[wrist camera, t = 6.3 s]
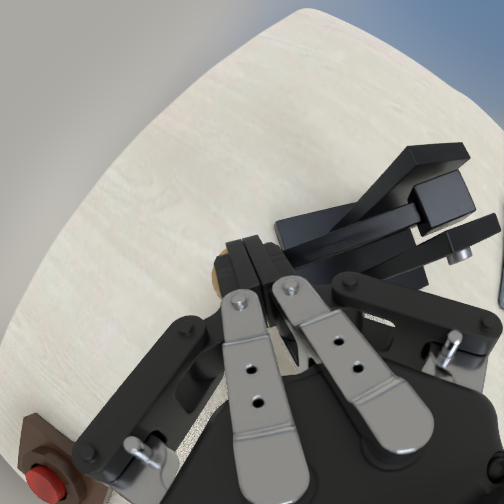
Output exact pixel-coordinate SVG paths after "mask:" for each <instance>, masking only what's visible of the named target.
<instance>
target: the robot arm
mask: <svg viewBox="0 0 504 504" xmlns="http://www.w3.org/2000/svg"><path fill="white" fill-rule="evenodd" d="M225 244H226V248H227V252H228V254H224V255H220V256H217V257H216V260H215V262H214V267H215V271H216V276H217V280H218V285H219V289H220V293H221V298H222V301H221V306H220V308H219V309H218V311H217V312H216V313H214V314H213V315H212V316H210V317H208V318H206V319H204V320H203V319H201V318H200V317H198V316H192V315H190V316H184V317H181V318H179V319H177V320H175V321H174V322H173V323H172V324H171V325H170V326H169V328H168V329H167V330H166V331H165V332H164V334H163V335H162V336H161V337H160V338H159V340H158V341H157V342H156V343H155V344H154V346H153V347H152V348H151V349H150V351H149V352H148V353H147V354H146V355H145V357H144V358H143V359H142V360H141V361H140V363H139V364H138V365H137V366H136V368H135V369H134V370H133V371H132V372H131V374H130V375H129V376H128V377H127V379H126V380H125V381H124V382H123V384H122V385H121V386H120V387H119V388H118V390H117V391H116V392H115V393H114V395H113V396H112V397H111V398H110V400H109V401H108V402H107V403H106V405H105V406H104V407H103V408H102V410H101V411H100V412H99V413H98V415H97V416H96V417H95V418H94V420H93V421H92V422H91V423H90V425H89V426H88V427H87V428H86V430H85V431H84V432H83V433H82V435H81V436H80V437H79V438H78V440H77V441H76V442H75V444H74V446H73V449H72V461H73V464H74V466H75V467H76V468H77V469H78V470H79V471H80V472H82V473H84V474H86V475H88V476H89V477H91V478H93V479H94V480H96V481H97V482H99V483H101V484H104V485H106V486H108V487H110V488H112V489H113V490H114V491H116V492H117V493H118V494H120V495H121V496H122V497H123V498H125V499H126V500H127V501H129V502H130V503H132V504H504V449H503V446H502V443H501V439H500V435H499V429H498V420H497V414H496V411H495V409H494V406H493V405H492V403H491V401H490V400H489V399H488V398H487V397H486V396H485V395H483V394H482V392H483V387H484V381H485V375H486V369H487V362H488V356H489V354H490V352H491V351H492V349H493V347H494V346H495V344H496V342H497V341H498V339H499V337H500V335H501V333H502V330H503V326H502V323H501V321H500V319H499V318H498V317H497V316H496V315H495V314H494V313H492V312H490V311H487V310H484V309H481V308H477V307H474V306H471V305H467V304H464V303H460V302H457V301H454V300H450V299H447V298H443V297H440V296H437V295H433V294H430V293H426V292H423V291H419V290H416V289H413V288H409V287H406V286H402V285H399V284H395V283H392V282H388V281H385V280H381V279H378V278H374V277H371V276H367V275H364V274H360V273H357V272H342V273H339V274H338V275H336V276H335V277H334V278H333V279H332V284H330V285H311V284H310V283H309V282H308V281H307V280H306V279H305V278H303V277H300V276H298V275H297V274H296V272H295V271H294V269H293V267H292V266H291V264H290V263H289V261H288V260H287V259H286V256H285V255H284V254H283V252H282V250H281V249H280V247H279V246H278V245H276V244H274V243H272V242H270V243H266V244H262V242H261V240H260V238H259V236H258V235H254V236H250V237H246V238H242V240H241V239H239V240H235V241H231V242H227V243H225ZM365 313H367V314H370V315H373V316H376V317H379V318H382V319H385V320H388V321H391V322H392V323H393V324H394V325H395V327H391V326H388V325H385V324H382V323H379V322H376V321H373V320H370V319H367V318H364V315H365ZM267 321H268V324H269V326H270V327H273V326H276V327H277V329H278V332H279V338H280V342H281V343H282V345H283V347H284V349H285V351H286V353H287V355H288V356H289V358H290V360H291V362H292V364H293V366H294V368H295V369H296V371H297V373H298V374H296V375H287V376H281V374H280V371H279V367H278V363H277V360H276V356H275V353H274V349H273V345H272V342H271V338H270V335H269V333H268V331H267V328H268V324H267ZM224 371H225V374H226V382H227V390H228V398H229V399H228V400H227V401H225V402H224V403H223V404H222V405H221V406H220V407H219V408H218V409H217V410H216V411H215V412H214V413H213V415H212V416H211V418H210V419H209V421H208V423H207V425H206V426H205V428H204V430H203V432H202V433H201V435H200V437H199V438H198V440H197V442H196V444H195V445H194V447H193V449H192V450H191V452H190V454H189V455H188V457H187V459H186V461H185V462H184V464H183V466H182V467H181V469H180V470H179V472H178V474H177V475H176V473H177V471H178V469H179V459H178V456H177V454H176V453H175V451H176V450H177V448H178V447H179V445H180V444H181V442H182V441H183V439H184V438H185V436H186V435H187V433H188V431H189V430H190V428H191V427H192V425H193V424H194V422H195V421H196V419H197V418H198V416H199V415H200V413H201V411H202V410H203V408H204V407H205V405H206V404H207V402H208V400H209V399H210V397H211V396H212V394H213V392H214V391H215V389H216V388H217V386H218V384H219V383H220V381H221V380H222V378H223V375H224ZM175 476H176V477H175Z"/></svg>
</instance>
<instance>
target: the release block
mask: <svg viewBox="0 0 504 504" xmlns="http://www.w3.org/2000/svg"><path fill="white" fill-rule="evenodd" d="M74 444H75V443H74V442H72V441H71V440H70V439H68V438H67V437H66V436H64V435H63V434H62V433H60V432H59V431H58V430H56V429H55V428H54V427H53V426H51V425H50V424H49V423H48V422H46V421H45V420H44V419H43V418H42V417H40V416H39V415H38V414H37V413H34V414H31V415H29V416H26V417H24V419H23V425H22V431H21V438H20V446H19V455H18V467H17V468H18V469H19V470H20V471H21V472H22V473H24V474H25V476H26V473H27V472H28V471H29V470H31V469H33V468H34V467H36V466H38V465H43V466H46V467H48V468H49V469H50V470H52V471H53V472H54V473H55V474H56V475H57V476H58V477H59V479H60V480H61V481H62V482H63V483H64V486H65V488H66V494H65V496H64V497H62V498H61V499H60V500H59V501H58V502H57V503H55V504H108V501H109V498H110V495H111V492H112V490H113V489H112V488H110V487H108V486H106V485H104V484H101V483H99V482H97V481H96V480H94V479H93V478H91V477H89V476H88V475H86V474H84V473H82V472H80V471H79V470H78V469H77V468H76V467H75V466H74V464H73V461H72V449H73V446H74ZM49 504H50V503H49Z"/></svg>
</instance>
